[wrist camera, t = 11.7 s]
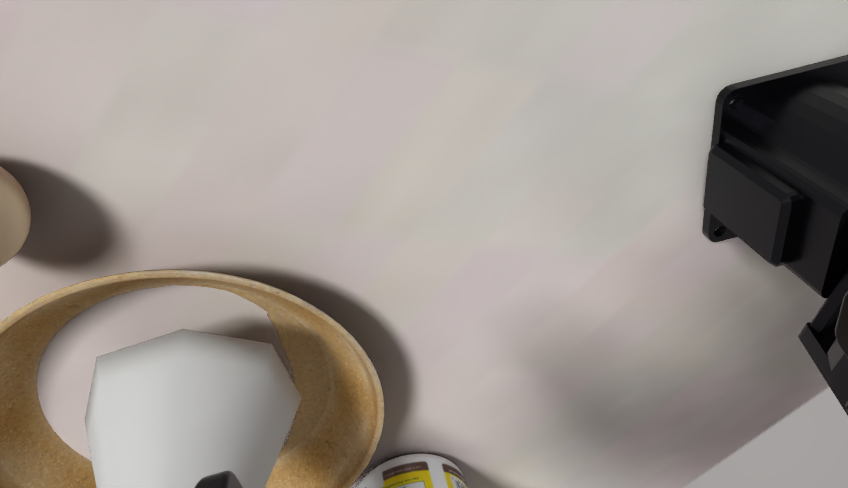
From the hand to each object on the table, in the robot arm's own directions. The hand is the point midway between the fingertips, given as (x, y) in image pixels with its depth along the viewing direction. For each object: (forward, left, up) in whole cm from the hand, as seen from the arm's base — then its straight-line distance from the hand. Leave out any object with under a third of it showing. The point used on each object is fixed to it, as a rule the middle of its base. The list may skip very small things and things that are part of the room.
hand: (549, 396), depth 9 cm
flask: (+9, +9, -11) cm, 17 cm away
